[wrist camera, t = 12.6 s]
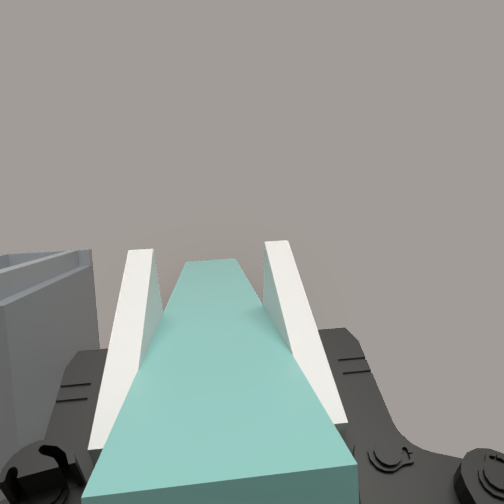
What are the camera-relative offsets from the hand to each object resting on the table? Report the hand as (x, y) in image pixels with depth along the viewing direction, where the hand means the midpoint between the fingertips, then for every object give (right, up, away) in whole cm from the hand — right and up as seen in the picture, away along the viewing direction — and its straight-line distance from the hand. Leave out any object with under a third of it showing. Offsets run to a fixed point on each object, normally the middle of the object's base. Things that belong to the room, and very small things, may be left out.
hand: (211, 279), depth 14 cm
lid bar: (0, -4, +4) cm, 6 cm away
